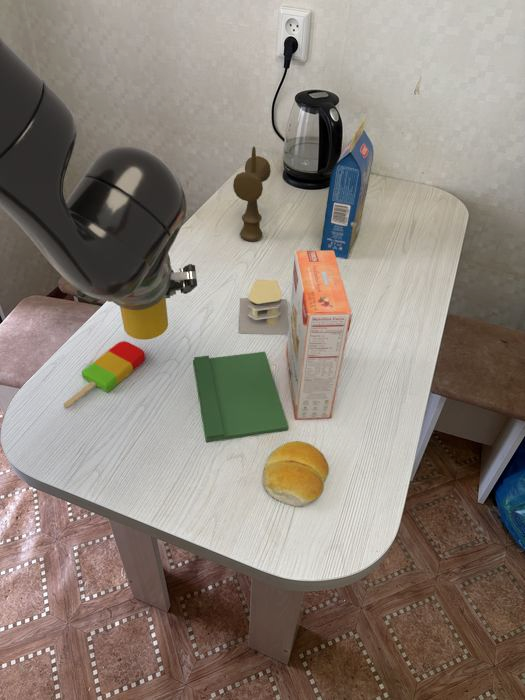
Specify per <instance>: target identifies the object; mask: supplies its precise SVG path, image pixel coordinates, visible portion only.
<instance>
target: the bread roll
mask: <svg viewBox="0 0 525 700" xmlns="http://www.w3.org/2000/svg"><path fill="white" fill-rule="evenodd" d="M329 471H330V467H329V463H328V461H327V459H326V457H325V456H324V453H322V452H321V451H320V450H319V449H318V448H317V447H315V446H314V445H312V444H310V443H308V442H304V441H299V440H295V441H294V440H293V441H289V442H286V443H284V444H282V445H280V446H278V447H277V448H275V450H273V451H272V452H271V453H270V454H269V456H268V457H267V459H266V462H265V466H264V469H263V473H262V482H263V486H264V488H265V490H266V491H267V493H268V494H269V495H270V496H271V497H272V498H273V499H274V500H277V501H279V502H281V503H283V504H285V505H289V506H293V507H297V508H298V507H299V508H302V507H305V506H307V505H308V504H311V503H313V502H315V501H316V500H318V499H319V497H320V496H321V495H322V494H323V492H324V487H325V486H324V482H325V481H326V479H327V477H328V475H329Z"/></svg>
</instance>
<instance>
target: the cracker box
mask: <svg viewBox="0 0 525 700" xmlns="http://www.w3.org/2000/svg"><path fill="white" fill-rule="evenodd" d="M292 270H293V272H292V274H293V275H292V282H291V283H292V284H291V296H290V307H289V316H288V319H289V329H288V334H287V340H286V352H285V355H286V362H287V369H288V376H289V377H288V378H289V383H290V384H289V385H290V391H291V393H290V394H291V400H292V407H293V415H294V419H295V420H313V419H317V420H321V419H331V418H333V417H332V416H333V412H334V405H335V401H336V396H337V390H338V387H339V386H338V385H339V381H340V377H341V371H342V368H343V367H342V366H343V362H344V356H345V351H346V347H347V342H348V338H349V333H350V328H351V323H352V317H353V311H352V308H351V305H350V302H349V299H348V294H347V291H346V288H345V284H344V280H343V278H342V274H341V271H340V267H339V263H338V261H337V256H335V253H334V251H333V250H324V251H320V250H295V252H294V259H293V269H292Z"/></svg>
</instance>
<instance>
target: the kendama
mask: <svg viewBox="0 0 525 700" xmlns="http://www.w3.org/2000/svg"><path fill="white" fill-rule="evenodd" d="M256 152H257V150H256V147H255V146H252V149H251V157H248V158H247V160H246V162H245V165H244V171H242V172H240V173H237V174H236V176H235V177H234V178H233V179H234V180H233V183H232V188H233V192H234V194H235V195H236V197H237V198H239V199H240V200H242V201H244V202H247V203H246V209H245V212H244V214H242V216H241V220H242V222H243V226H242V229H241V230H240V232H239V237H240V238H241V239H242V240H245V241H248V242H256V241H257V242H258V241H259V240H260V239H262V238H263V235H264V234H263V231H262V228H261V225H260V223H261V221H262V220H263V219H262V218H263V216H262V214H261V213H260V212H259V205H258V200H259V199H260V197H261V196H262V194H263V190H264V186H263V182H266V181H268V179H269V178H270V176H271V172H272V170H271V165H270V162H269V160H267V159H266V158H265V157H262V156H259V155H257V153H256Z"/></svg>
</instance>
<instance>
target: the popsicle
mask: <svg viewBox="0 0 525 700" xmlns="http://www.w3.org/2000/svg"><path fill="white" fill-rule="evenodd" d="M145 361H146V352H145V351H144V350H143V349H142V348H141V347H138V346H137V345H135V344H133V343H132V342H129V341H125V340H122V341H119V342H118V343H116V344H115V345H113V346H112V347H111V348H109V350H107V351H105V352H104V353H103V354H102V355H101V356H99V357H98V358H97V359H95V360H94V361H93V362H91V364H89V365H88V366H87V367H86V368H83V370H82V371H81V376H82V379H84V380H85V381H86V382H88V383H87V384H86V385H84V386H83V387H82V388H81V389H80V390H79V391H77V392H76V393H75V394H74V395H72V396H71V397H70V398H68V400H66V401H64V403H63V408H66V409H68V408H70V407H71V406H73V405H74V404H75V403H76V402H77V401H78V400H80V399H81V398H83V396H85V395H86V394H87V393H88V392H90V391H91V390H92V389H94V387H97V388H99V389H101V390H102V391H104V392H105V393H107V394H108V393H109V392H110V391H112V390H113V389H115V387H117V386H118V385H119V384H120V383H121V382H122V381H124V380H125V379H126V378H127V377H128V376H129V375H131V374H132V373H133V372H134V371H135V370H136V369H137V368H139V367H140V366H141V365H143V364H144V363H145Z"/></svg>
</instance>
